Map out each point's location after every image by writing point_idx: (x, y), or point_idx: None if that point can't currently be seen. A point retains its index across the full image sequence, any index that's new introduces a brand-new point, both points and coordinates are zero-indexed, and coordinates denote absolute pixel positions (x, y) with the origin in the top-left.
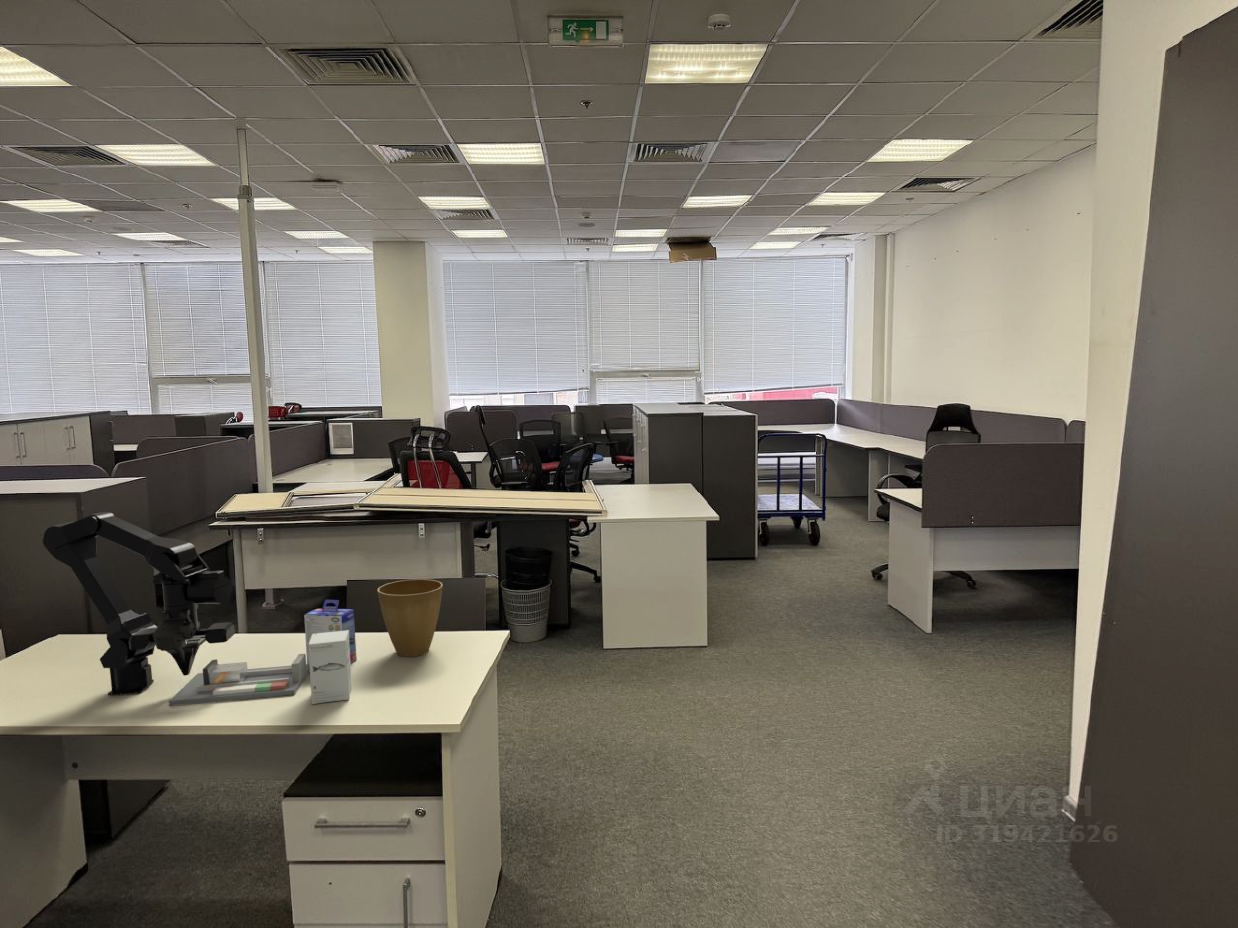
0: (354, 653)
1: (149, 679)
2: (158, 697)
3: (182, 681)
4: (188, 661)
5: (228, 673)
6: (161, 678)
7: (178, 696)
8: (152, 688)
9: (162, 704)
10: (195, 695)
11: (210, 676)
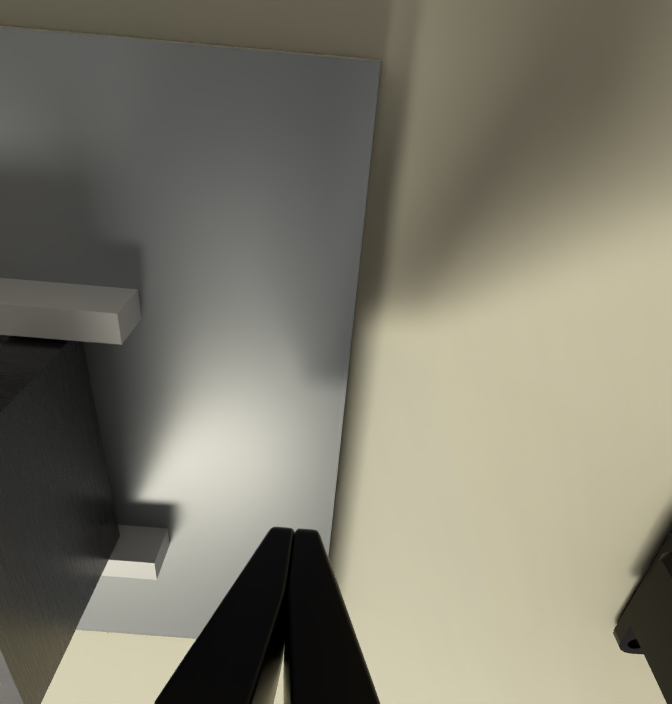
0: None
1: (661, 622)
2: (541, 353)
3: (413, 591)
4: (176, 700)
5: None
6: (566, 663)
7: (305, 197)
8: (611, 541)
9: (469, 141)
10: (104, 164)
11: None
